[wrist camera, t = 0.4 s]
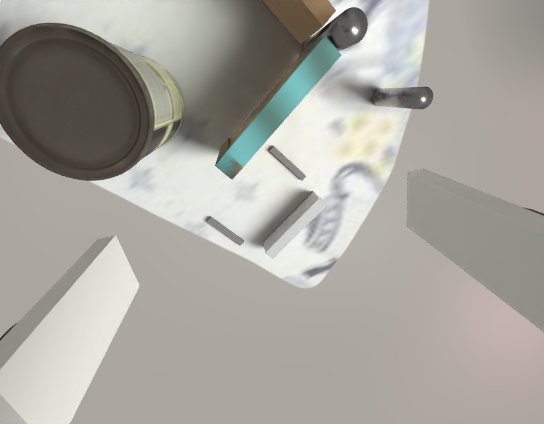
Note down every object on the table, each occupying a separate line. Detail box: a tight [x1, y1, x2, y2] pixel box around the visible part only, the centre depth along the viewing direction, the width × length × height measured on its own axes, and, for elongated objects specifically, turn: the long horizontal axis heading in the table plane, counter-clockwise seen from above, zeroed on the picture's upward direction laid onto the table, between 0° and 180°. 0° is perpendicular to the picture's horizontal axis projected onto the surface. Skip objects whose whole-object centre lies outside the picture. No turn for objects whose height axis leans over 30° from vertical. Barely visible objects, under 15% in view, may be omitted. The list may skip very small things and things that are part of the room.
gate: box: [215, 35, 341, 179], centre depth 28 cm, size 14×2×10 cm, turn 137°
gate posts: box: [262, 0, 433, 109], centre depth 27 cm, size 20×4×12 cm, turn 47°
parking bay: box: [207, 146, 326, 258], centre depth 38 cm, size 10×14×3 cm
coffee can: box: [0, 23, 184, 181], centre depth 26 cm, size 10×10×14 cm
